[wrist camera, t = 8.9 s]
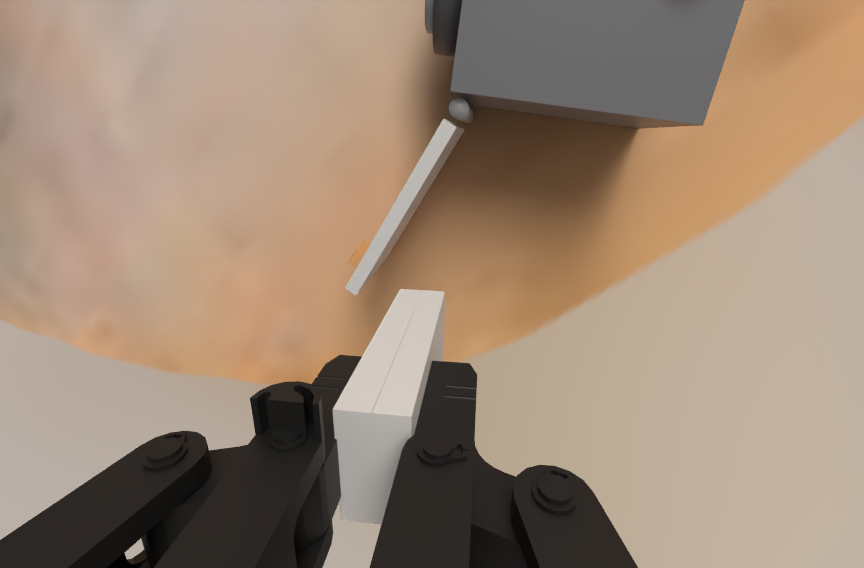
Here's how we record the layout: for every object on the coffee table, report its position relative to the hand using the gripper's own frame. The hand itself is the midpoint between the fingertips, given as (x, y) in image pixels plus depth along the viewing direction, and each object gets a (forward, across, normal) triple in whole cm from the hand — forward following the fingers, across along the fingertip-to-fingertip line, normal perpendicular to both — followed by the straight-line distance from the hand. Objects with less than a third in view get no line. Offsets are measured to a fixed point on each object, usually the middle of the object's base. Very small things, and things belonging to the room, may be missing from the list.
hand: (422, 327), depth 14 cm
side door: (+19, -3, +3) cm, 19 cm away
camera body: (+19, +5, +12) cm, 23 cm away
